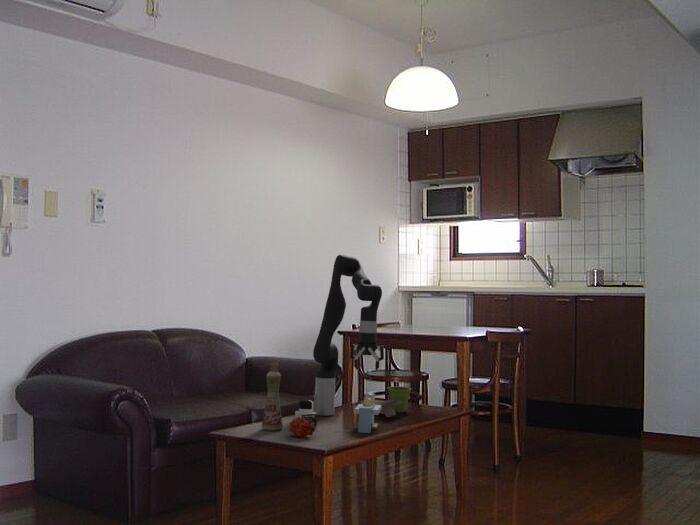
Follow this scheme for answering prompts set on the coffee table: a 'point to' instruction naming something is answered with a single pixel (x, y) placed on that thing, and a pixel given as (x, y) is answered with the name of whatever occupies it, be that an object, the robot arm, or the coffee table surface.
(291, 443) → the coffee table surface
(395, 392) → the plant pot
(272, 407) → the bottle
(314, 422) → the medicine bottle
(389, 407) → the white slotted block
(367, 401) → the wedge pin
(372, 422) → the grey piece
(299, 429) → the dragon fruit
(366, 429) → the bracket
